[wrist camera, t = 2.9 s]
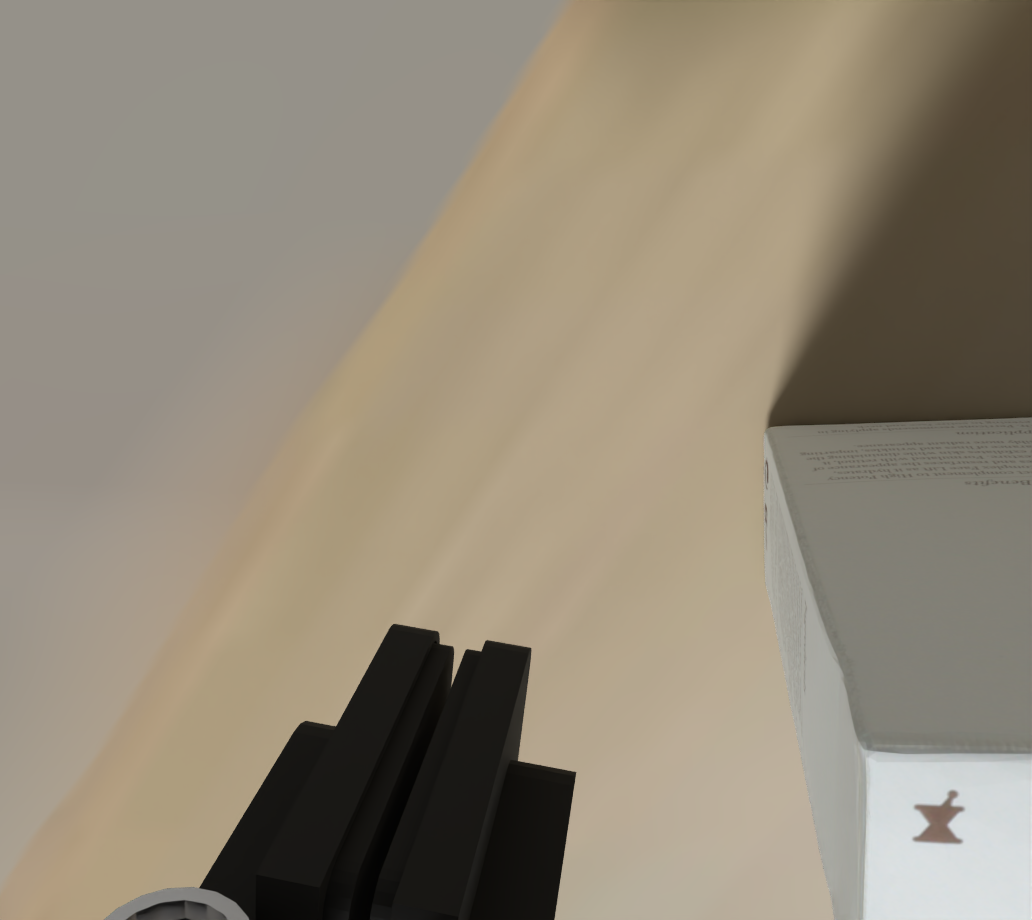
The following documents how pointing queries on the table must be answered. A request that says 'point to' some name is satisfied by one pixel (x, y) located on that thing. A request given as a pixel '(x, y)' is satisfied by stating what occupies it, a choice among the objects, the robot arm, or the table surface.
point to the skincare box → (909, 657)
